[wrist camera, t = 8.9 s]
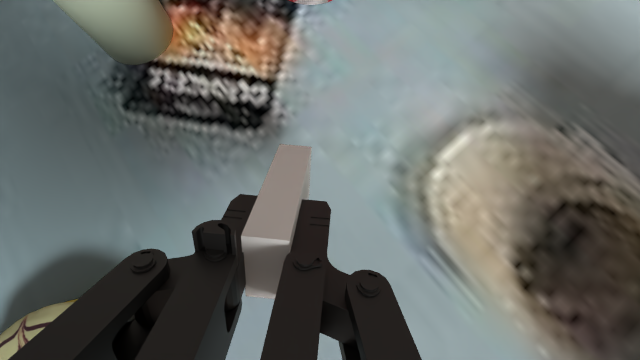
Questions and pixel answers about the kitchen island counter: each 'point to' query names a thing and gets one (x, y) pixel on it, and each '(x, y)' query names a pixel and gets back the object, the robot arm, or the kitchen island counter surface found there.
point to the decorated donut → (29, 328)
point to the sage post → (123, 27)
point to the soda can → (310, 1)
